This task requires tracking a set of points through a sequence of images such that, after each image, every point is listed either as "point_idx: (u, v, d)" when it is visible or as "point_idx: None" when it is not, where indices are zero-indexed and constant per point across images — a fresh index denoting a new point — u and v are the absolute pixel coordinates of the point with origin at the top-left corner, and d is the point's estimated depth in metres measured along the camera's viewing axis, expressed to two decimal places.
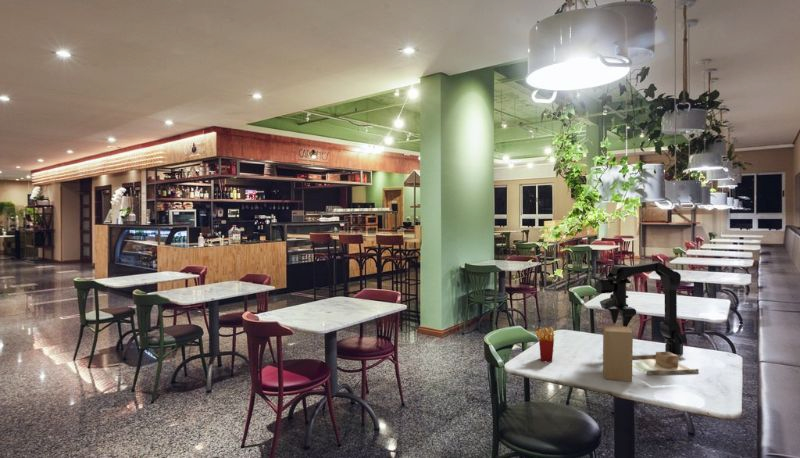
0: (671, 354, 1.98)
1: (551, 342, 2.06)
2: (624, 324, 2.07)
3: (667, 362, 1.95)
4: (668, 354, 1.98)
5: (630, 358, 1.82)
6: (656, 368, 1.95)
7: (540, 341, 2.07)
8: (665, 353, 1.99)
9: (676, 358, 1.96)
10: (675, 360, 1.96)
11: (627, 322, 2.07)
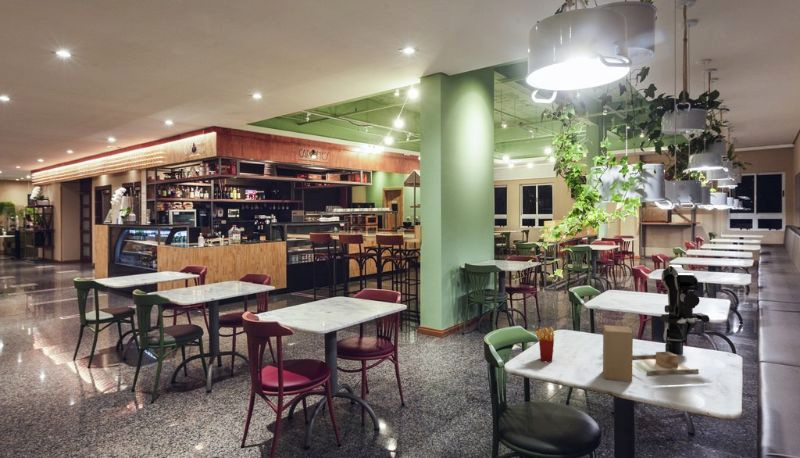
0: (671, 354, 1.98)
1: (551, 342, 2.06)
2: (681, 332, 1.99)
3: (667, 362, 1.95)
4: (668, 354, 1.98)
5: (630, 358, 1.82)
6: (656, 368, 1.95)
7: (540, 341, 2.07)
8: (665, 353, 1.99)
9: (676, 358, 1.96)
10: (675, 360, 1.96)
11: (683, 331, 1.98)
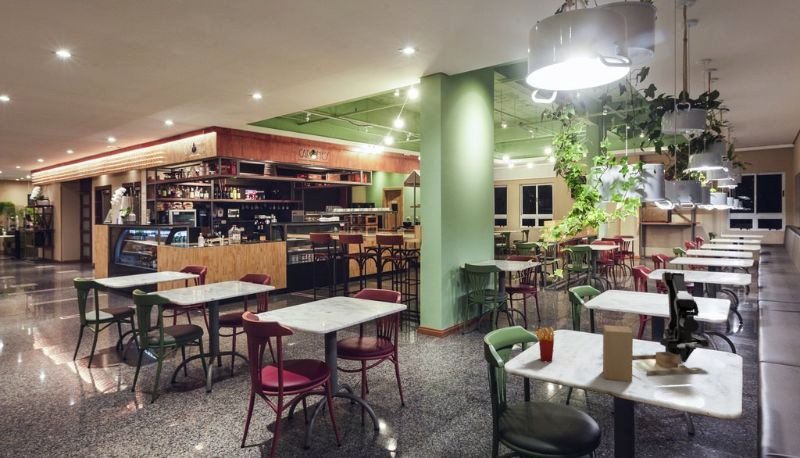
0: (671, 354, 1.98)
1: (551, 342, 2.06)
2: (681, 356, 2.00)
3: (667, 362, 1.95)
4: (668, 354, 1.98)
5: (630, 358, 1.82)
6: (656, 368, 1.95)
7: (540, 341, 2.07)
8: (665, 353, 1.99)
9: (676, 358, 1.96)
10: (675, 360, 1.96)
11: (682, 355, 1.98)
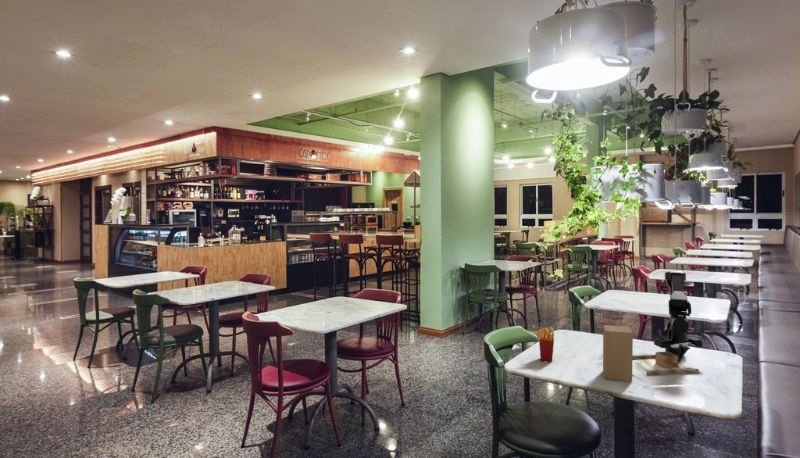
0: (671, 354, 1.98)
1: (551, 342, 2.06)
2: None
3: (667, 362, 1.95)
4: (668, 354, 1.98)
5: (630, 358, 1.82)
6: (656, 368, 1.95)
7: (540, 341, 2.07)
8: (664, 353, 1.99)
9: (676, 358, 1.96)
10: (675, 360, 1.96)
11: None
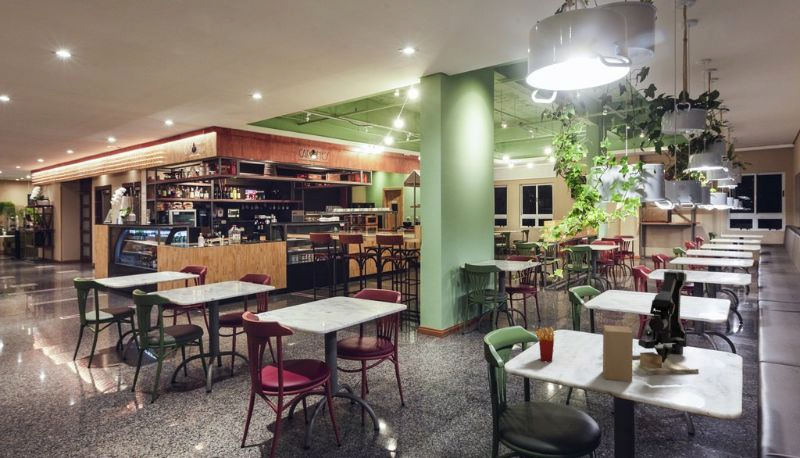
0: (655, 355, 1.97)
1: (551, 342, 2.06)
2: None
3: (651, 363, 1.95)
4: (652, 354, 1.97)
5: (630, 358, 1.82)
6: (656, 368, 1.95)
7: (540, 341, 2.07)
8: (649, 354, 1.98)
9: (660, 359, 1.95)
10: (659, 361, 1.95)
11: None
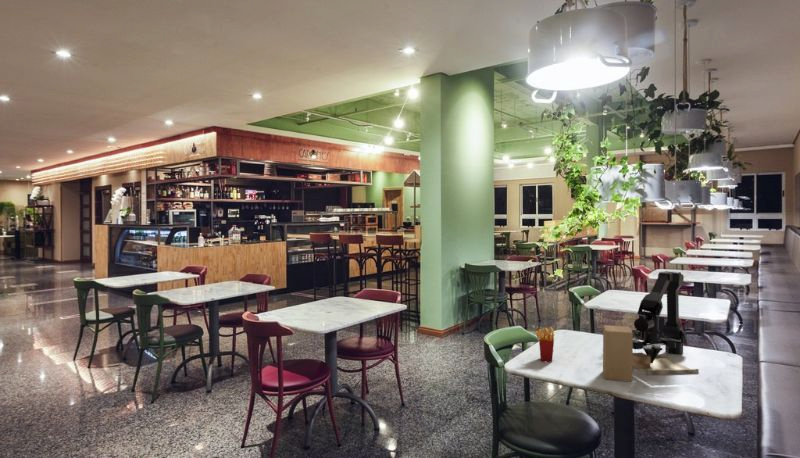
0: (644, 355, 1.97)
1: (551, 342, 2.06)
2: None
3: (640, 364, 1.95)
4: (641, 355, 1.97)
5: (630, 358, 1.82)
6: (656, 368, 1.95)
7: (540, 341, 2.07)
8: (637, 354, 1.98)
9: (648, 359, 1.95)
10: (647, 361, 1.95)
11: (649, 356, 1.97)
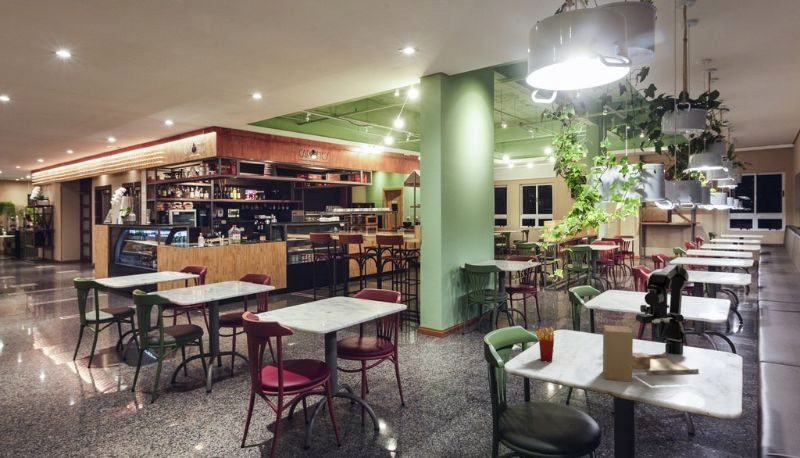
0: (644, 355, 1.97)
1: (551, 342, 2.06)
2: (656, 332, 2.00)
3: (640, 364, 1.95)
4: (640, 355, 1.97)
5: (630, 358, 1.82)
6: (656, 368, 1.95)
7: (540, 341, 2.07)
8: (637, 354, 1.98)
9: (648, 359, 1.95)
10: (647, 361, 1.95)
11: (657, 330, 1.99)
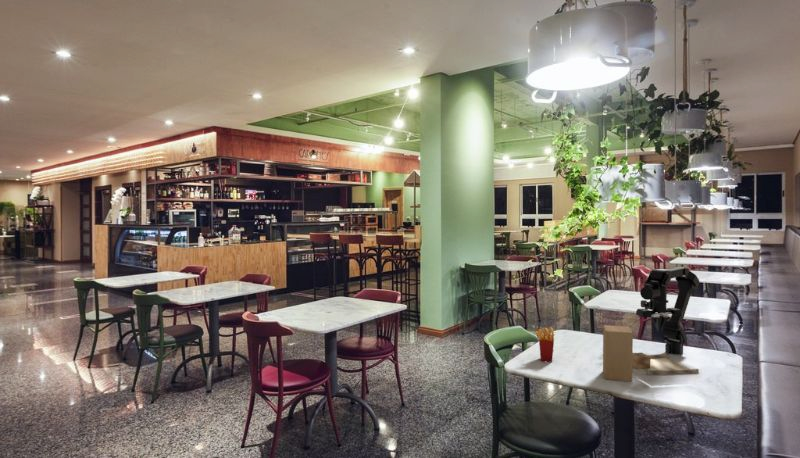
0: (644, 355, 1.97)
1: (551, 342, 2.06)
2: (656, 326, 2.09)
3: (640, 364, 1.95)
4: (640, 355, 1.97)
5: (630, 358, 1.82)
6: (656, 368, 1.95)
7: (540, 341, 2.07)
8: (637, 354, 1.98)
9: (648, 359, 1.95)
10: (647, 361, 1.95)
11: (657, 325, 2.07)
